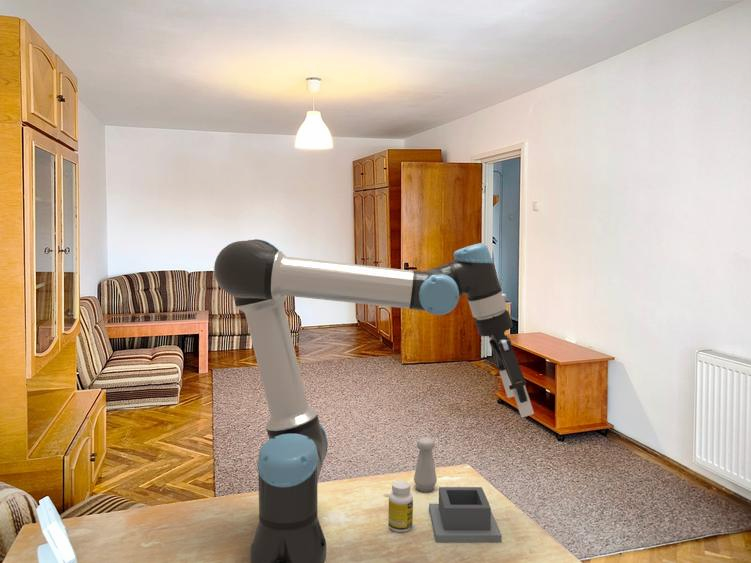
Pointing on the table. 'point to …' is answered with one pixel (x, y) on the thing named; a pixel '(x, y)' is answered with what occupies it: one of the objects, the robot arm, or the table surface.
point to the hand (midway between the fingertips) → (520, 405)
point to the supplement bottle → (400, 507)
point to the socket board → (463, 516)
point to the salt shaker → (425, 466)
